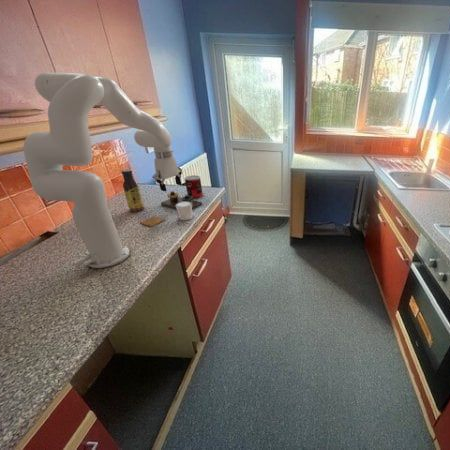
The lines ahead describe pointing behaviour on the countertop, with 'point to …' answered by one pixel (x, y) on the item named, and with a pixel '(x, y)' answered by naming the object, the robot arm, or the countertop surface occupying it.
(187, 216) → the white short cylinder
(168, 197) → the brass ring
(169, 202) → the peg rack
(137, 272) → the countertop surface
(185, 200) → the wood ring
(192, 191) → the canned food
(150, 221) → the cork mat
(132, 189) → the sauce bottle
